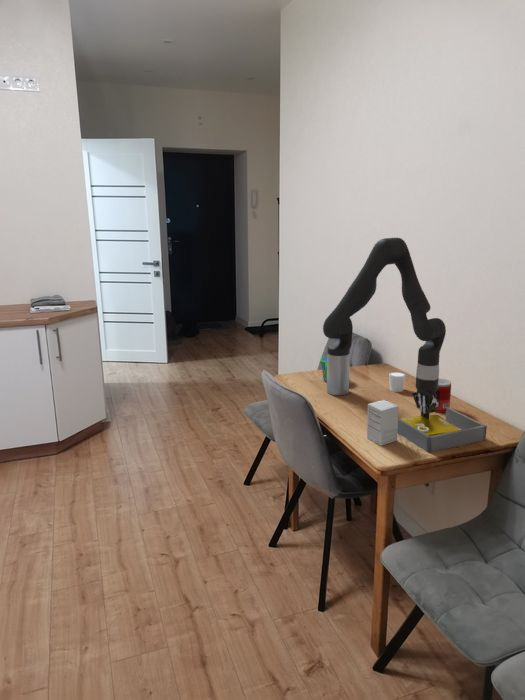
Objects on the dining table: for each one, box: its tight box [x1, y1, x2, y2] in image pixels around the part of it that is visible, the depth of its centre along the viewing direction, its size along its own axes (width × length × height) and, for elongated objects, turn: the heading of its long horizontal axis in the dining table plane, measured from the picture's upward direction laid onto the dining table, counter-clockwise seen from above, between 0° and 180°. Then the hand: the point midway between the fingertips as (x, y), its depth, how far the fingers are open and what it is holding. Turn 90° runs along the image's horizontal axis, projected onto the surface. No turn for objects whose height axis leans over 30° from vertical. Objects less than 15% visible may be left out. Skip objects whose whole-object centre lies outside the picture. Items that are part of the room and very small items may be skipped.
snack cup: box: [319, 356, 327, 383], centre depth 236 cm, size 16×10×10 cm
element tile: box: [401, 414, 459, 436], centre depth 178 cm, size 15×15×5 cm
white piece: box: [388, 371, 406, 393], centre depth 222 cm, size 7×7×7 cm
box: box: [397, 407, 488, 453], centre depth 177 cm, size 18×23×5 cm
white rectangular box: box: [366, 399, 399, 446], centre depth 174 cm, size 7×7×13 cm
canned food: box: [434, 378, 452, 413], centre depth 199 cm, size 8×8×11 cm
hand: (424, 421), depth 184 cm, fingers closed
